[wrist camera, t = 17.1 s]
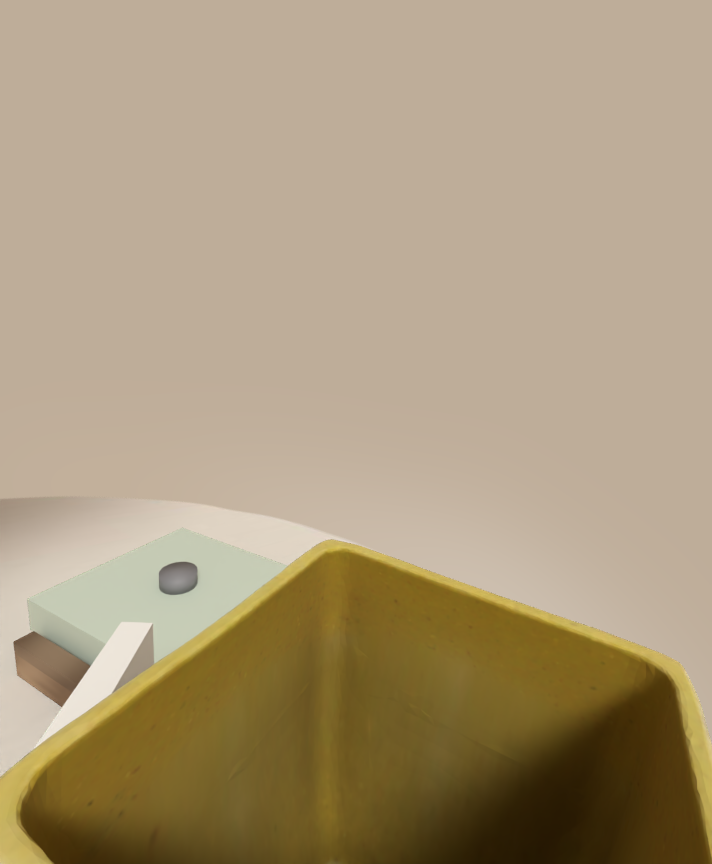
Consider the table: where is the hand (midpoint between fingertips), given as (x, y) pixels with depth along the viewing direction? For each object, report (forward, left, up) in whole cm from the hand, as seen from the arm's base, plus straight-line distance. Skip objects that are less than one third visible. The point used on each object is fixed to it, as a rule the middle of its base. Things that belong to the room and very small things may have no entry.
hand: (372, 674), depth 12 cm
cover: (-18, +10, -11) cm, 23 cm away
